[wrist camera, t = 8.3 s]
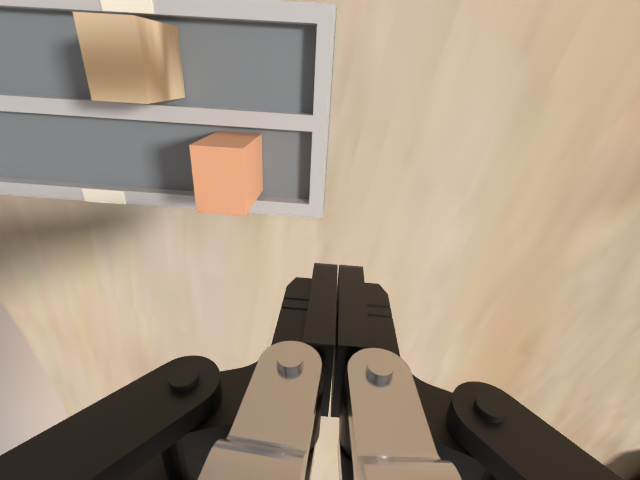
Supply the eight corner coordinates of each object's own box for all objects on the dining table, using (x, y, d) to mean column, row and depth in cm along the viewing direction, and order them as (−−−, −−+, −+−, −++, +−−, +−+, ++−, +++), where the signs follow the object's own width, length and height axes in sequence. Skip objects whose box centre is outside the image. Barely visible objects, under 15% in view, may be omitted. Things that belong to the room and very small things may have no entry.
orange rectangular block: (218, 130, 24) (189, 144, 19) (261, 133, 24) (242, 148, 19) (222, 187, 26) (196, 212, 21) (262, 190, 25) (245, 215, 21)
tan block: (129, 23, 21) (72, 11, 17) (177, 26, 21) (133, 15, 17) (140, 94, 23) (91, 100, 19) (185, 97, 23) (147, 104, 18)
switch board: (-71, -14, 22) (-114, -22, 20) (336, 9, 21) (335, 3, 19) (0, 184, 28) (-27, 193, 26) (323, 207, 27) (322, 218, 25)
